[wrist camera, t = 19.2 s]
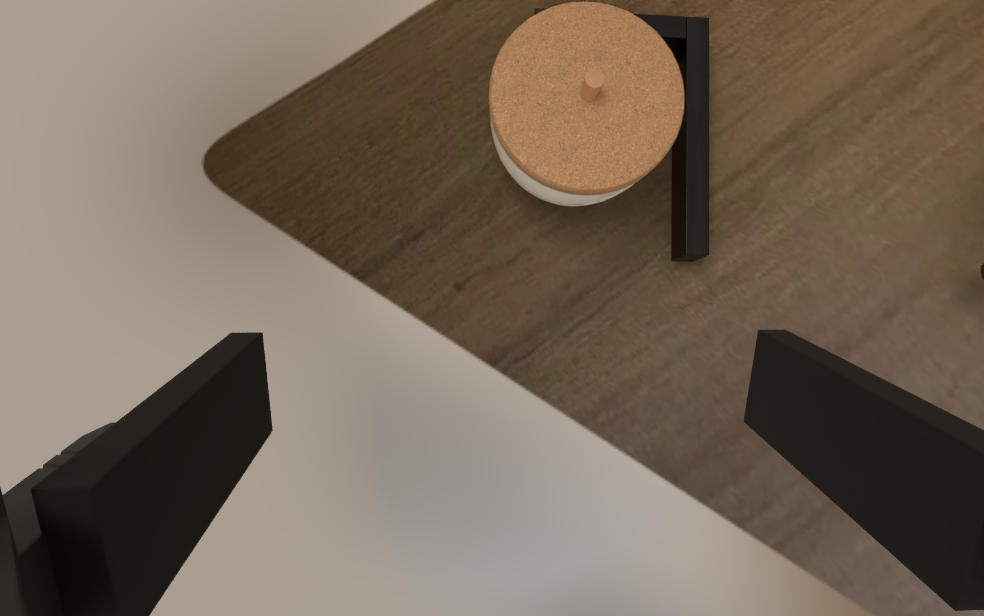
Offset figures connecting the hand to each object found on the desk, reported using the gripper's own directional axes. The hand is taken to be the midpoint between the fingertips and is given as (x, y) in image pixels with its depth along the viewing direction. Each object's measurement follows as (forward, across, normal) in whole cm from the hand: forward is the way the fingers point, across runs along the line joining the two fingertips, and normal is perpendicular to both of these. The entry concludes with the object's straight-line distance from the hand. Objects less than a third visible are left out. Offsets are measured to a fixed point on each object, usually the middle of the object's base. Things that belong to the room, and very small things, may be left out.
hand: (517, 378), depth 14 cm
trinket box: (+25, +6, +6) cm, 26 cm away
